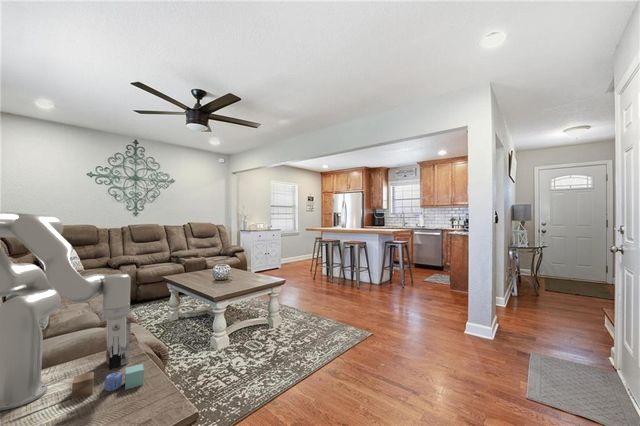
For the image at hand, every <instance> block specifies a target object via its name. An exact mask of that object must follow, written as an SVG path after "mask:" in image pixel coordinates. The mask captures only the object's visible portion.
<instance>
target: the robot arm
mask: <svg viewBox="0 0 640 426" xmlns="http://www.w3.org/2000/svg"><path fill="white" fill-rule="evenodd" d="M63 232H64V225H63V223H62V222H61V220H60V219H58V218H57V217H54V216H52V215H47V214H46V215H45V214H30V213H21V212H11V211H0V238H16V239H17V240H18V241H19V242H20V243H21V244H22V245H23V246H24V247H25V248H27V250H29V252H31V254H33V255H34V256H35V257H36V258H37V259H38V260H39V261H40V262H41V263H42V265H43V268H44V269H42V268H40V266H37V265H36V264H34V263H30V262H21V263H14V261H12V260H11V259H10V257H9V255H7V253H6V252H5V250H4V249H3V248H1V247H0V298H3V297H7V296H12V295H14V294H17V296H14V297H12V298H9V299H8V300H5V301H4V302H3V303H2V304H1V305H0V411H6V410H10V409H15V408H18V407H22V406H23V405H27V404H29V403H31V402H33V401H35V400H37V399H39V398H41V397H42V396H43V395H44V394H46V392H47V391H48V386H47V384H45V383H41V382H42V381H41V380H42V365H43V364H42V360H43V344H44V343H43V342H44V341H43V340H44V338H43V337H44V335H43V333H44V332H43V329H42V326H41V325H40V320H43V319H44V318H46V317H49V316H51V315H53V314H54V313H55V312H57V311H58V309H59V308H60V307H61V303H62V298H61V296H62V297H63V298H64V299H65V300H67V301H69V302H71V303H74V304H75V303H76V304H80V303H81V304H82V303H85V302H87V301H89V300H92V299H94V298H97V297H100V296H102V307H101V308H102V312H101V313H102V315H101V316H102V317H101V319H102V320H105V321H106V346H108V350H109V351H110V356H109V365H108V371H111V370H114V369H116V370H117V369H118V368H119V369H120V368H121V366H122V365H121V353H120V350H121V347H124V348H125V347H126V317H128V316H129V315H130V314H131V313H130V311H131V276H130V275H129V274H128V273H115V274H105V273H93V274H90V275H84V276H83V275H82V274H81V273H79V272H78V271H77V270H76V268H75V267H74V266H73V265H72V263H71V259H70V258H71V254H72V252H73V250H74V247H73V246H72V244H71V243H70V242H68V240H66V238H64V236H62V234H63Z"/></svg>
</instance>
